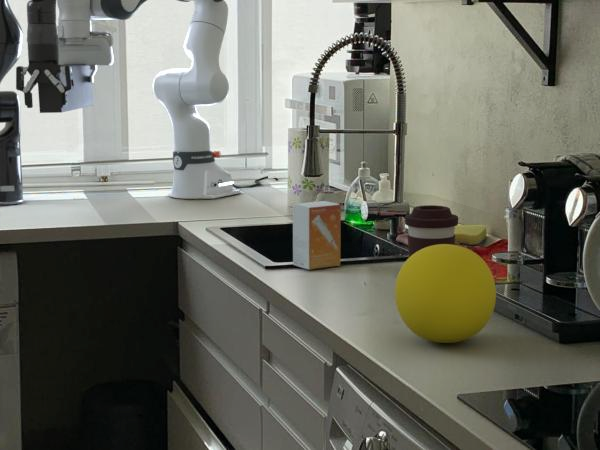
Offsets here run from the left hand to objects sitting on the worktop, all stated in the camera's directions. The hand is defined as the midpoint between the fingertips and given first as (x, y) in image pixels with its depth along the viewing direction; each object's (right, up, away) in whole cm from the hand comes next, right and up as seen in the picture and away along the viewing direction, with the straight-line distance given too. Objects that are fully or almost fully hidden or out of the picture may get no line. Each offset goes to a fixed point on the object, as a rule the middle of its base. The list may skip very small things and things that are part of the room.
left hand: (46, 107), depth 263 cm
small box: (+68, -38, -46) cm, 90 cm away
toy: (+86, -48, -102) cm, 142 cm away
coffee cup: (+89, -41, -66) cm, 118 cm away
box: (+2, +2, +16) cm, 17 cm away
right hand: (+2, +10, +26) cm, 28 cm away
